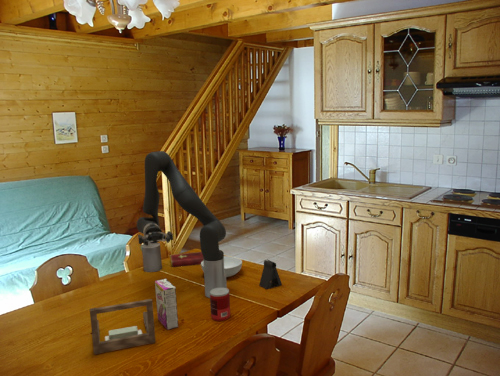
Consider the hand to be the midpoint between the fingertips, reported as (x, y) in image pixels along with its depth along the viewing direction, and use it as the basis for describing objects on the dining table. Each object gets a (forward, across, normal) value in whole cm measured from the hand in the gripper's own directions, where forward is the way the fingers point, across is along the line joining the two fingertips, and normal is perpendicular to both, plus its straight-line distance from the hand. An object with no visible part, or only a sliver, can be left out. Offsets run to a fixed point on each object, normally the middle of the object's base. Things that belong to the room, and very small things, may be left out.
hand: (157, 241), depth 183 cm
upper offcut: (+20, -17, +28) cm, 39 cm away
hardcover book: (-58, +24, +31) cm, 70 cm away
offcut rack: (+16, -17, +30) cm, 38 cm away
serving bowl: (-31, +35, +30) cm, 56 cm away
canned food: (+16, +21, +30) cm, 40 cm away
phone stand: (-7, +52, +30) cm, 61 cm away
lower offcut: (+20, -17, +31) cm, 40 cm away
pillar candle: (-55, +3, +30) cm, 63 cm away
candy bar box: (+12, 0, +30) cm, 33 cm away
